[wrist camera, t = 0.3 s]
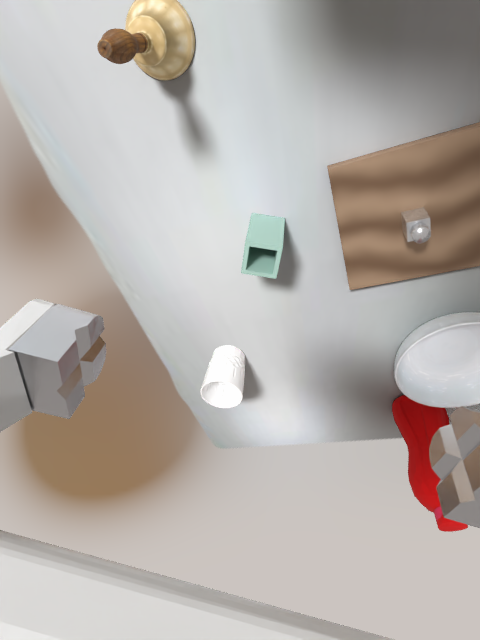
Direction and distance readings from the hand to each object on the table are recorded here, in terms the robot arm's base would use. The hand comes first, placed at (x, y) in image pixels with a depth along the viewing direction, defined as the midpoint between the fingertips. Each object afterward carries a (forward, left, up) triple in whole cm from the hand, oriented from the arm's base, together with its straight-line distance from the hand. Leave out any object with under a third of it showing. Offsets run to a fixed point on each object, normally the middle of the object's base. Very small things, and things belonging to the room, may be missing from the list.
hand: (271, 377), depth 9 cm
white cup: (+49, -3, -48) cm, 69 cm away
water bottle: (+54, +38, -48) cm, 82 cm away
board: (+14, +20, -48) cm, 53 cm away
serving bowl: (+36, +36, -48) cm, 70 cm away
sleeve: (+20, 0, -48) cm, 52 cm away
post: (+14, +20, -46) cm, 52 cm away
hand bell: (-2, -16, -48) cm, 51 cm away
